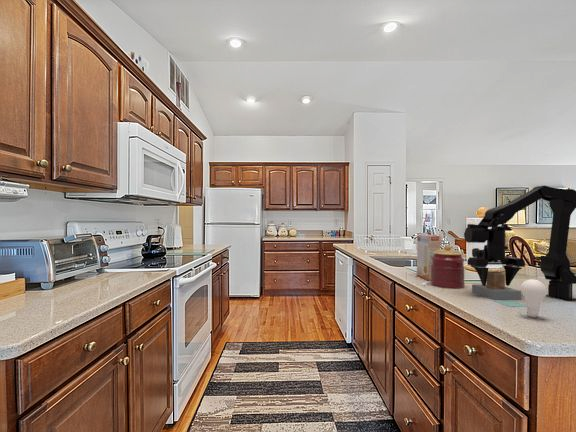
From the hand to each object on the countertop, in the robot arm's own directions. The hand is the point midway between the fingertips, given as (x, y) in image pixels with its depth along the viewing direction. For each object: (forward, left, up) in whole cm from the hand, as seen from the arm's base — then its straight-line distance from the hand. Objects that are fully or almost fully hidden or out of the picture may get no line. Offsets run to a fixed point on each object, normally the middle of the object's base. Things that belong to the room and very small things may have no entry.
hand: (495, 285), depth 120 cm
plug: (0, 0, -4) cm, 4 cm away
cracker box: (+5, -38, -4) cm, 39 cm away
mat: (+3, +11, -4) cm, 12 cm away
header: (0, 0, -4) cm, 4 cm away
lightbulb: (+7, +24, -4) cm, 25 cm away
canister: (+7, -19, -4) cm, 21 cm away
